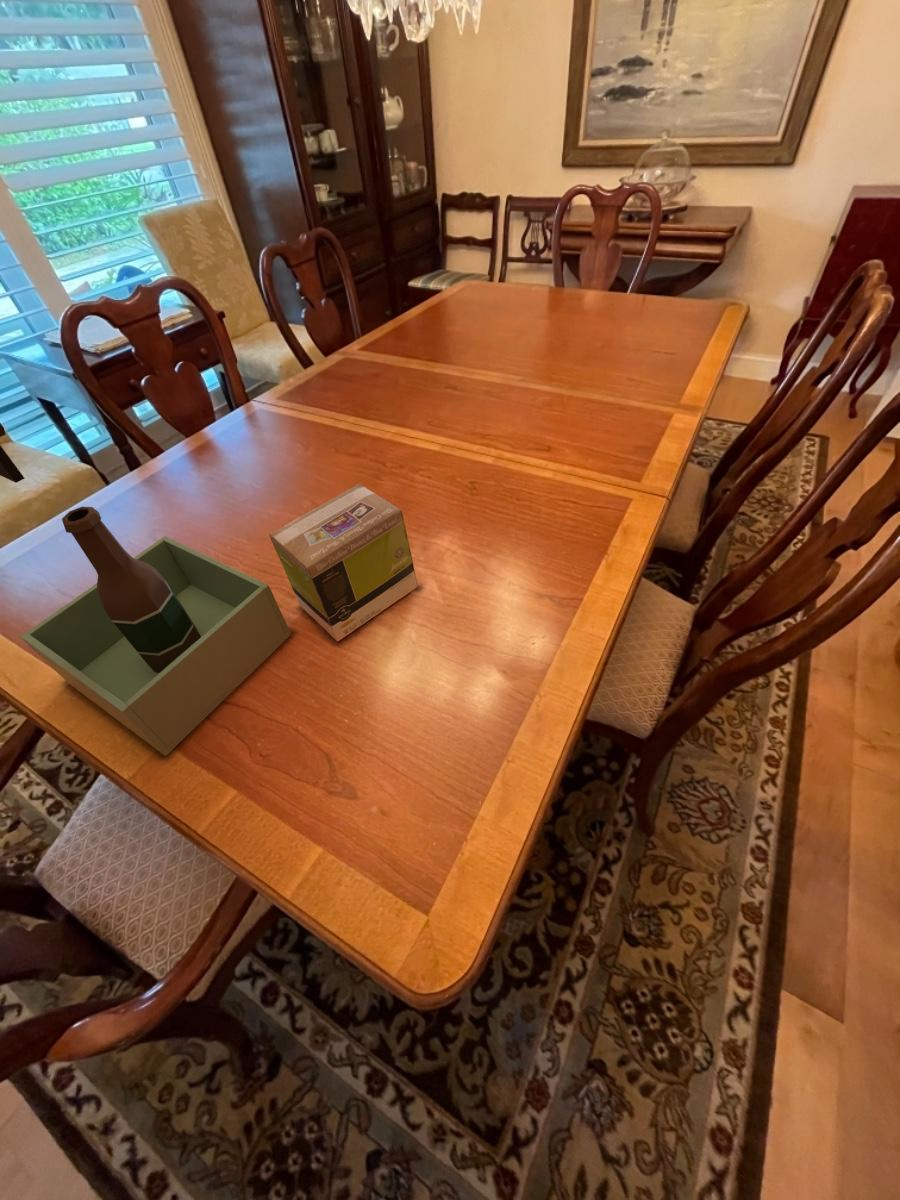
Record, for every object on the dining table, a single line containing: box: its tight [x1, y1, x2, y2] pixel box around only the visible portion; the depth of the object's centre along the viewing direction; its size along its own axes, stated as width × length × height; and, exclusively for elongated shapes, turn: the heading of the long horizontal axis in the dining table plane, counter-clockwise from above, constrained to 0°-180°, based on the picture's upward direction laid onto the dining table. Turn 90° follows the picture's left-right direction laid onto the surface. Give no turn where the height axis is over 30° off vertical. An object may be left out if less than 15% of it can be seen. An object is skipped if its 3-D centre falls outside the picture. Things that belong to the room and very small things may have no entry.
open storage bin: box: [19, 535, 292, 757], centre depth 71 cm, size 22×22×10 cm
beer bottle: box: [61, 506, 201, 673], centre depth 65 cm, size 8×8×24 cm
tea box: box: [268, 483, 419, 642], centre depth 74 cm, size 15×10×15 cm
